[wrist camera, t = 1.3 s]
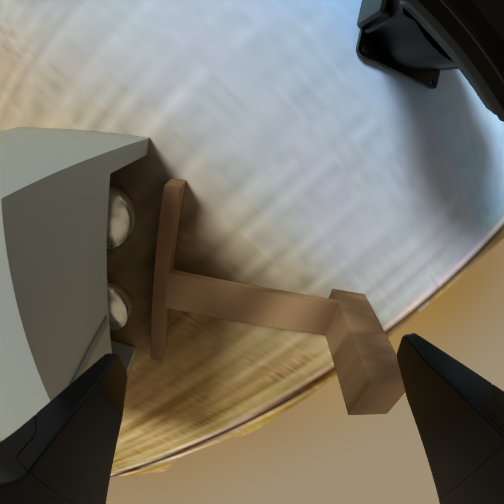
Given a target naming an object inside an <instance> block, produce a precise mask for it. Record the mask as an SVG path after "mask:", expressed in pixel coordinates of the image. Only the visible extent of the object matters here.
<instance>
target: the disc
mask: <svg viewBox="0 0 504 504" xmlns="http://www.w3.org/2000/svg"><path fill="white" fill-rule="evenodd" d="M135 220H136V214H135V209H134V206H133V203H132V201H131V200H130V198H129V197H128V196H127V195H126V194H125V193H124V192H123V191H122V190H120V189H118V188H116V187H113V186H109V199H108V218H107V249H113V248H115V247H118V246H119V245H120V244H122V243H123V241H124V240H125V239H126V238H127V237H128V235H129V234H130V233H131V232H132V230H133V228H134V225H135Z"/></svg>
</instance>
